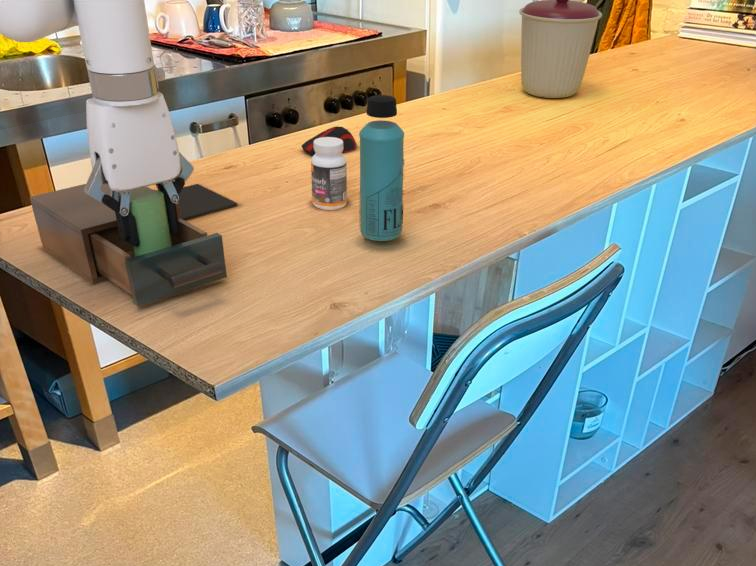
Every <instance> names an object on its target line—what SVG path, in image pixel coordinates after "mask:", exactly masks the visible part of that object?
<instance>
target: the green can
mask: <svg viewBox="0 0 756 566" xmlns="http://www.w3.org/2000/svg"><path fill="white" fill-rule="evenodd" d="M129 212H130V213H131V214H132V215H134V218H135V223H136V228H137V233H138V239H139V244H138V245H137V246H133V250H134V255H135V257H136V256H140V255H143V254H147V253H150V252H153V251H157V250H160V249H164V248H167V247H170V246H172V242H171V236H170V230H169V224H168V217H167V211H166V205H165V199H164V194H163V193H162V192H161V191H158V189H153V188H150V189H141V190H135V191H131V192H130V205H129Z"/></svg>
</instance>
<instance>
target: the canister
mask: <svg viewBox="0 0 756 566" xmlns="http://www.w3.org/2000/svg"><path fill="white" fill-rule="evenodd" d="M519 15H520V16H521V34H520V35H521V36H520V37H521V38H520V39H521V40H520V41H521V42H520V44H521V45H520V80H521V86H522V89H523V90H524V91H525V92H526V93H527V94H529V95H530V96H533V97H538V98H544V99H563V98H568V97H572V96H574V95H575V94H576V93H578V91H579V89H580V88H581V85H582V83H583V79H584V76H585V73H586V70H587V65H588V61H589V58H590V54H591V50H592V47H593V43H594V38H595V35H596V31H597V27H598V22H599V20H600V19H601V18H602V16H603V13H602V12H601V11H600V10H598V8H597V7H596V6H594V5H593V4H590V3H588V2H582V1H577V0H534V1H531V2H529V3H527V4H526V5H524V7H521V8H520V9H519Z"/></svg>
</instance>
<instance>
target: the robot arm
mask: <svg viewBox="0 0 756 566" xmlns="http://www.w3.org/2000/svg"><path fill="white" fill-rule="evenodd" d="M75 27H78V31H79V37H80V40H81V46H82V50H83V56H84V61H85V65H86V71H87V75H88V81H89V86H90V91H91V95H92V97H91V98H88V99H86V103H85V109H86V110H85V112H86V113H85V117H86V118H85V119H86V133H87V143H88V151H89V157H90V163H91V169H92V170H91V172H90V174H89V177H88V179H87V181H86V183H85V184H86V185H85V188H84V192H85V194H87V195H89V196H90V197H92V198H94V199H96V200H98V201H100V202H102V203H103V204H105V205H106V206H107V207H109V208H110V209H112V210H113V211H115V214H116V219H117V224H118V229H119V234H120V236H121V238H123V239H124V240H125V241H126V242H128V243H129V244H131V245H133V246H137V245H138V244H139V239H138V233H137V228H136V223H135V218H134V215H132V214H131V213H130V212H129V205H130V192H131V190H134V189H138V188H142V187H146V186H147V187H150V186H154V185H155V187H156V190H158V191H161V192H162V193H163V194H164V199H165V205H166V211H167V217H168V224H169V230H170V233H171V234H173V235H176V234H178V228H177V225H178V216H177V209H176V203H177V202H178V200H179V196H178V195H179V194H180V192H181V190H182V189H183V187H185V185H186V181H188V179H189V178H190V177H191V175H192V174H193V173H194V171H195V168H194V167H195V166H193V164H192V163H191V162H189V160H188V159H186V157H185V156H184V155H183V154H182V153H181V152H180V151H179V146H178V145H179V144H178V141H177V136H176V132H175V131H176V130H175V128H174V124H173V120H172V116H171V113H170V110H169V107H168V104H167V102H166V99H165V96H164V94H163V93H162V92H160V91H159V89H160V86H159V85H160V84H159V82H161V81H163V80H165V79H166V72H165V70H164V68H163V67H162V66H161V67H160V66H159V67H156V66H157V65H156V64H155V62H154V55H153V48H152V43H151V36H150V29H149V23H148V16H147V10H146V4H145V0H0V35H2V36H3V37H5V38H7V39H9V40H11V41H15V42H19V43H32V42H36V41H38V40H42V39H44V38H46V37H49V36H51V35H53V34H56V33H59V32H63V31H65V30H68V29H71V28H75ZM102 184H109V187H110V188H111V192H110V196H109V195H108V194H106V193H104V192H103V191H102V190H101V186H102Z"/></svg>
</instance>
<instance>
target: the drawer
mask: <svg viewBox="0 0 756 566" xmlns="http://www.w3.org/2000/svg"><path fill="white" fill-rule="evenodd" d="M177 228H178V234H176V235H173V234H171V233H170V236H171V242H172V246H170V247H167V248H164V249H160V250H157V251H153V252H150V253H147V254H143V255H140V256H136V257H135V255H134V250H133V245H131V244H129V243H128V242H126V241H125V240H124V239H123V238H121V236H120V234H119V229H118V226H116V227H112V228H109V229H105V230H101V231H98V232H94V233H90V234H88V238H89V242H90V246H91V251H92V255H93V260H94V264H95V268H96V271H97V272H99V273H100V274H101V275H103V276H104V277H106V278H107V279H109V280H108V281H110V282H111V283H113V284H114V285H116V286H117V287H118V288H120V289H122V290H123V291H125V292H126V293H128V294H129V295H130V296H131V299H132V303H133V304H134V305H135V306H136V307H142V306H144V305H147V304H151V303H153V302H156V301H159V300H163V299H166V298H168V297H171V296H175V295H177V294H180V293H183V292H186V291H189V290H192V289H196V288H199V287H201V286H205V285H208V284H211V283H214V282H217V281H219V280H224V279H226V278H228V275H227V267H226V259H225V251H224V242H223V241H224V240H223V235H222V234H221V233H219V232H215V233H211V234H208V232H207V231H205V230H203V229H201V228H199V227H197V226H195V225H194V224H192V223H190V222H189V221H188V220H186V221H185V220H183V219H181V218H179V217H178V225H177Z"/></svg>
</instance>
